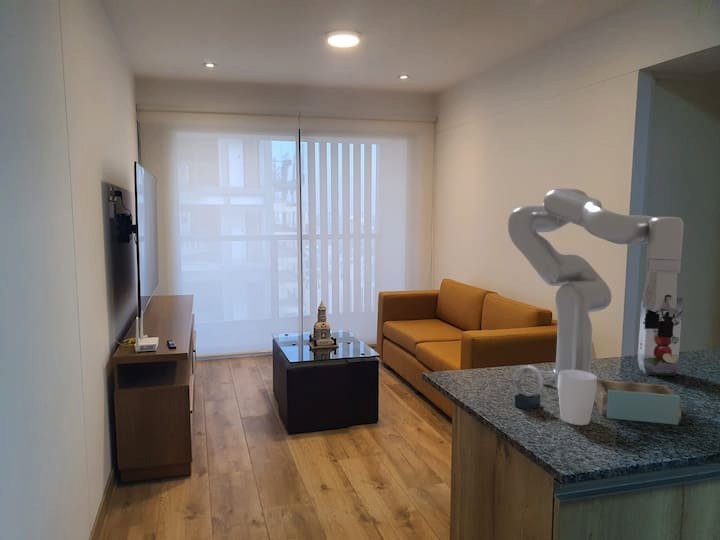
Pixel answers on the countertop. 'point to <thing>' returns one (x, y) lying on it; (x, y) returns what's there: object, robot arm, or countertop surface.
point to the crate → (627, 386)
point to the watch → (527, 398)
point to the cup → (576, 396)
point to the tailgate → (643, 406)
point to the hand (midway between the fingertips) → (657, 332)
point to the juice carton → (659, 346)
